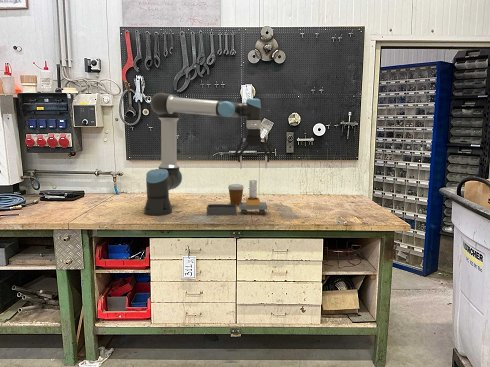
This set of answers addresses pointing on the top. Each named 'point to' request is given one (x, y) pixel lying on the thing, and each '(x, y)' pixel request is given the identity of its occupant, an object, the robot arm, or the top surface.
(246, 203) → the plate with orange frame
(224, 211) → the pin tray
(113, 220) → the top surface
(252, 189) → the pin
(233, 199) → the disposable coffee cup
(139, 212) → the top surface
